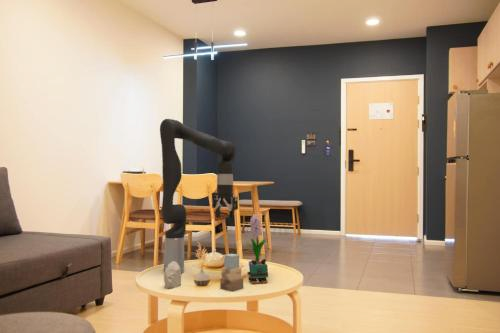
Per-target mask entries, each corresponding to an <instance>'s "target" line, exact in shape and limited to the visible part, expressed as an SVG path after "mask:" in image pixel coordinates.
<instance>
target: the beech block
mask: <svg viewBox="0 0 500 333" xmlns="http://www.w3.org/2000/svg"><path fill="white" fill-rule="evenodd" d="M220 275H221V278H222V279H226V280H230V281H233V280H237V279H240V278H242V267H240V266H239V268H236V269H227V268H224V266H223V267H221V274H220Z"/></svg>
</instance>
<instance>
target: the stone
mask: <svg viewBox="0 0 500 333" xmlns="http://www.w3.org/2000/svg"><path fill="white" fill-rule="evenodd" d="M163 279H164V281H163V282H164V289H166V288H167V289H166V290H170V289H174V287H175V288H178V287H179V286H181V284H182V273H181V271H180V267H179V264H178V263H177V262H175V261H172V262H171V263H170V264H169V265H168V267H167V268H166V269H165V272H164V278H163ZM169 288H170V289H169Z"/></svg>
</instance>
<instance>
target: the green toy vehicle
mask: <svg viewBox="0 0 500 333" xmlns="http://www.w3.org/2000/svg"><path fill="white" fill-rule="evenodd" d="M260 260H261V262H262V264H260V265H258V264H256V262H257V261H255V259H252V260H251V261H252V262H253V264H252V265H250V270H249V271H247V275H248V276H249V277H248V281H251V284H252V285H256V284H258V281H260V282H261V284H267V283H268V279H267V278H268V277H269V272H268V264H267V263H266V261H267V259H266V258H264V259H260ZM257 278H258V279H257Z"/></svg>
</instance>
